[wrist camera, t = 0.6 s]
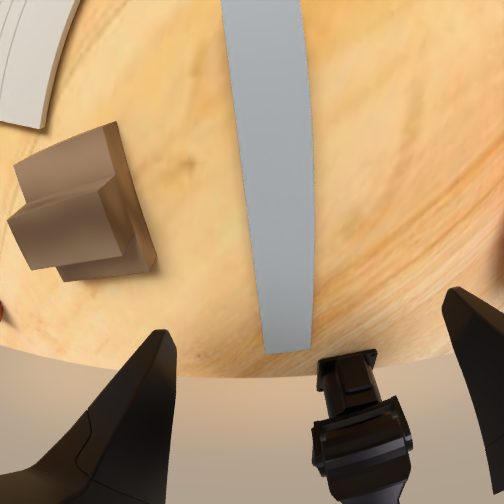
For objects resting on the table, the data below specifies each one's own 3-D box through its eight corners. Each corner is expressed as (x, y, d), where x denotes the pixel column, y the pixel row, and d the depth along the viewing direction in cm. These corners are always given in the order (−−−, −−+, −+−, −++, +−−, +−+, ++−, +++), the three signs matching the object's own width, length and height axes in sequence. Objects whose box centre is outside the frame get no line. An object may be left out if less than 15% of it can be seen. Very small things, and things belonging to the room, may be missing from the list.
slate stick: (302, 313, 25) (310, 349, 21) (262, 317, 25) (265, 354, 22) (284, -3, 12) (295, -24, 8) (223, 1, 12) (218, -20, 8)
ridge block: (156, 255, 21) (140, 296, 17) (73, 267, 21) (50, 303, 17) (116, 121, 15) (81, 136, 11) (29, 156, 16) (-9, 178, 12)
